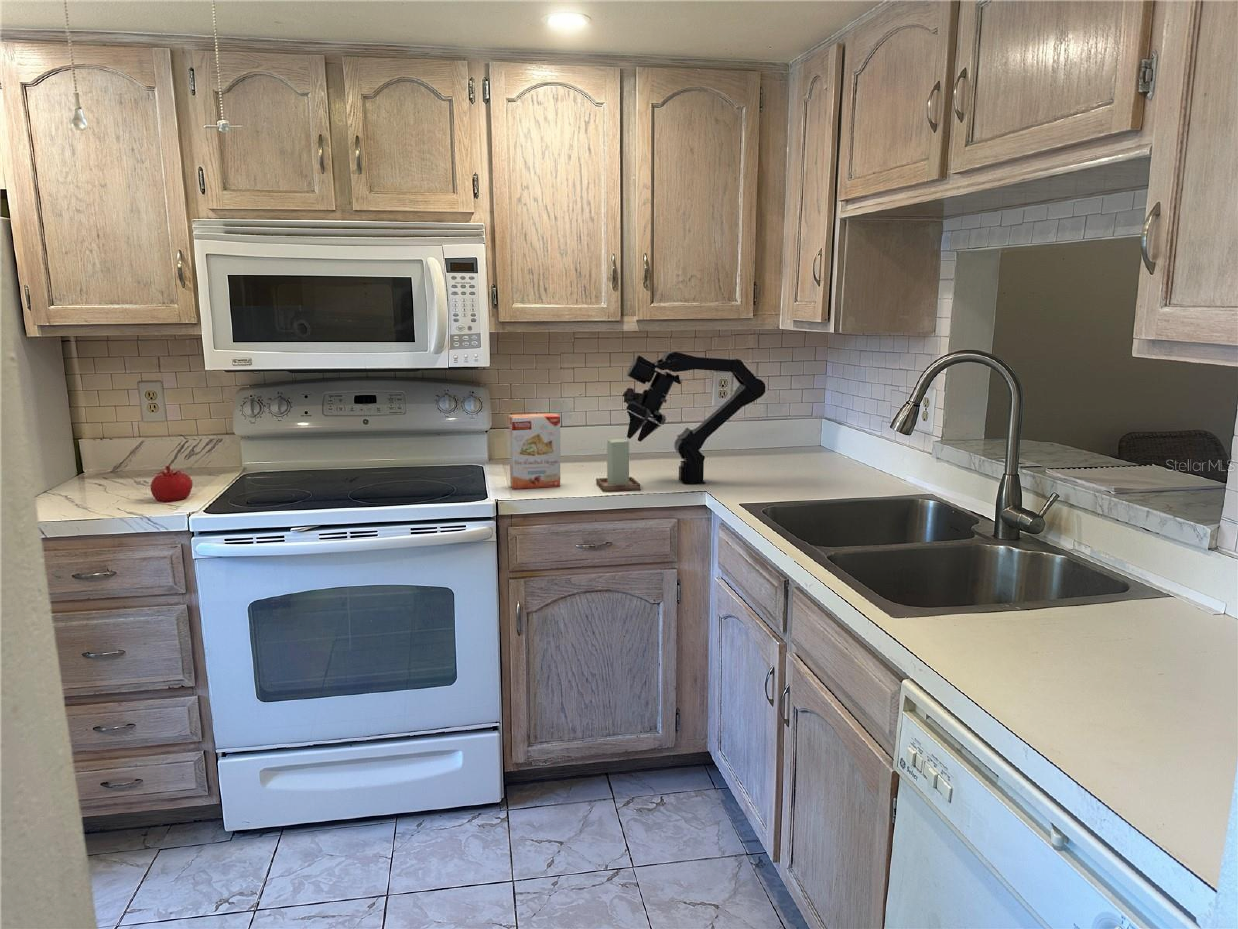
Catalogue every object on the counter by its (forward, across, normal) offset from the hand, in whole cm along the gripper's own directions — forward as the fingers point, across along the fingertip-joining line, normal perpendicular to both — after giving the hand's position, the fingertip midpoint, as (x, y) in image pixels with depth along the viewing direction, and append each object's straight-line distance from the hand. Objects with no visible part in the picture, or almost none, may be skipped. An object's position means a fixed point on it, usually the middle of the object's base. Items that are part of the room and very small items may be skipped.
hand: (633, 439), depth 240 cm
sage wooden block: (+14, +3, +3) cm, 14 cm away
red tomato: (+69, +59, -90) cm, 128 cm away
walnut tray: (+14, +3, +3) cm, 15 cm away
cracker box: (+25, +10, -17) cm, 32 cm away
